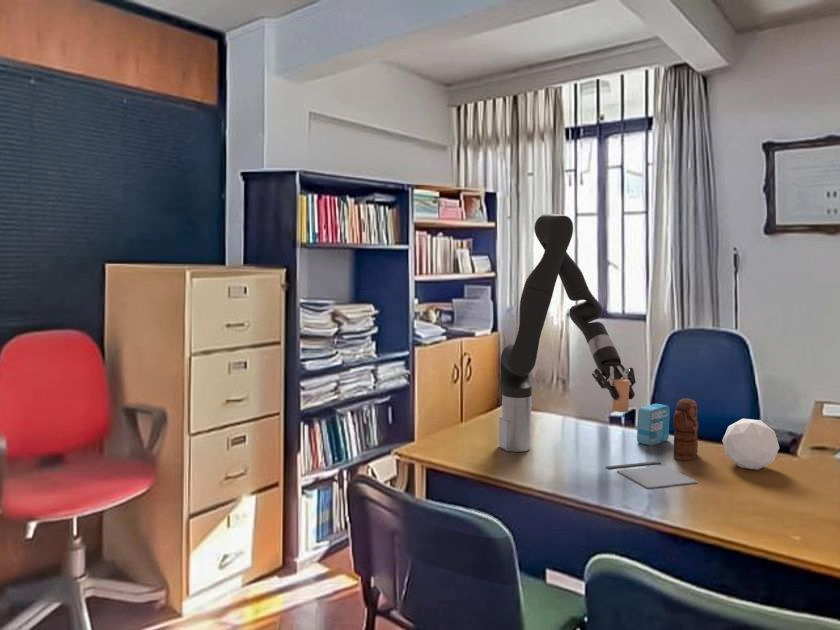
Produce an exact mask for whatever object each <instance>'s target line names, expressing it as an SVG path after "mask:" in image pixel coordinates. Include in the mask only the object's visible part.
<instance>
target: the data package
mask: <svg viewBox="0 0 840 630" xmlns="http://www.w3.org/2000/svg"><path fill="white" fill-rule="evenodd" d="M670 413H671V408H670V406H669V405H666V404H660V403H652V404H649V405H645V406H641V407H639V409H638V411H637V427H636V428H637V430H636V431H637V432H636V433H637V435H636V441H637V442H638V444H642V445H647V446H650V447H651V446H655V445H658V444H660V443H664V442H666V441H668V439H669V437H670V435H669V434H670V417H671V415H670Z"/></svg>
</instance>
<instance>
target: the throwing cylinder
mask: <svg viewBox="0 0 840 630" xmlns="http://www.w3.org/2000/svg"><path fill="white" fill-rule="evenodd" d="M629 385H630V381H629V380H626V379H622V378H621V379H614V386H615V387H616V389H617V391H618V394H619V398H618V400H614V398H612V405H611V406H612V409H611V410H612V411H613V412H618V413H627V412H629V401H630V399H629Z"/></svg>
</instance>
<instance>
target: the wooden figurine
mask: <svg viewBox="0 0 840 630" xmlns="http://www.w3.org/2000/svg"><path fill="white" fill-rule="evenodd" d="M699 425H700V424H699V420H698V404H697V402H696V400H694V399H693V398H692V399H691V398H687V397H686V398H681V399H679V400H678V401H677V403H676V405H675V411H674V414H673V422H672V426H673V428H674V430H673V431H674V433H673V459H674V460H676V461H693V460H696V457H697V456H698V454H697V453H698V447H699V444H698V442H699V441H698V439H699V438H698V434H699Z"/></svg>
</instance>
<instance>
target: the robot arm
mask: <svg viewBox="0 0 840 630" xmlns="http://www.w3.org/2000/svg"><path fill="white" fill-rule="evenodd" d="M534 233H535V237H536V238H537V240H538V243H540V245H541V247H542V248H543V250H544V253H543V255H542V256H541V259H540V261H539V262H538V264H537V265H536V266H535V267H534V269H532V271H531V272H530V274H529V275H528V277H527V278H526V280H525V282H524V285H523V289H522V293H521V294H520V295H521V296H520V301H519V308H518V309H519V311H518V313H519V314H518V316H519V318H518V321H519V324H518V330H517V335H516V338H515V340H514V343H511V344H508V345H507V346H505V347H504V349H502V352H501V355H500V363H499V364H500V385H501V390H502V392H501V395H502V397H501V398H502V399H501V416H499V417H498V420H499V421H498V446H499V447H500V448H501V449H502V450H503V451H505V452H519V453H521V452H527V451H529V450H530V449H531V443H532V441H531V438H532V437H531V435H532V434H531V429H532V393H533V392H532V391H533V389H532V386H531V382H530V379H529V378H530V377H529V374H530V373H531V372H532V371H533V370H534V368H535V366H536V362H537V357H538V351H539V345H540V341H541V340H540V339H541V336H542V332H543V328H544V325H545V322H546V319H547V315H548V311H549V309H550V305H551V302H552V298H553V295H554V291H555V287H556V283H557V281H558V277H559V279H560V281H561V283H562V286H563V288H564V291H565V293H566V296H567V298H568V299H569V300H570V301H573V302H574V301H575V302H577V301H582V302H579V303H576V304H574V305H572V306H570V309H569V311H568V315H569V318H570V320H571V321H572V322H573V323H574V324H575V326H576V327H577V328H578V329H579V330H580V332H581V333H582V335H583V336H584V339H585V341H586V343H587V345H588V348H589V352H590V355H591V356H592V359H593V360H594V363H595V365H596V368H595V369H593V372H592V373H591V376H592V377H593V379H595V381H596V382H597V384H598V385H599V386H600V388H601V390H602V389H603V390H604V389H607V390H608V392H609V394H610V396H611V398H612V399H613V398H614V400H618V398H619V394H618V391H617V389H616V387H615V386H614V379H626V380H629V381H630V385H629V400H633V399H634V398H635V395H636V394H635V392H634V389H633V386H634V385H636V382H637V381H636V377H635V371H634V368H633V367H629V368H626V367H625V366H624V365H623V364H622V361H621V360H622V359H621V357H620V355H619V353H618V350H617V349H616V347H615V344H614V342H613V340H612V339H611V337H610V335H609V334H608V331H607V329H606V327H605V325H604V323H602V322H599V321H596V320H598V319H601V317H602V316H603V312H604V310H603V307H602V305H601V304H600V302H599V301H598V300H597V298H596V297H595V296H594V295H593V293H592V292H591V291H590V289H589V286H588V284H587V282H586V281H587V280H586V278H585V277H584V274H583V272H582V270H581V269H580V267H579V266H578V264H577V263H576V262H575V260H573V258H572V257H571V256H570V254H569V253H568V252H567V251H568V248H569V246H570V243H571V240H572V237H573V234H574V224H573V220H572V219H571V217H570V216H568V215H564V214H555V213H554V214H547V213H545V214H542V215H540V216H539V217H538V218H537V219H536V221H535V223H534Z"/></svg>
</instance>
